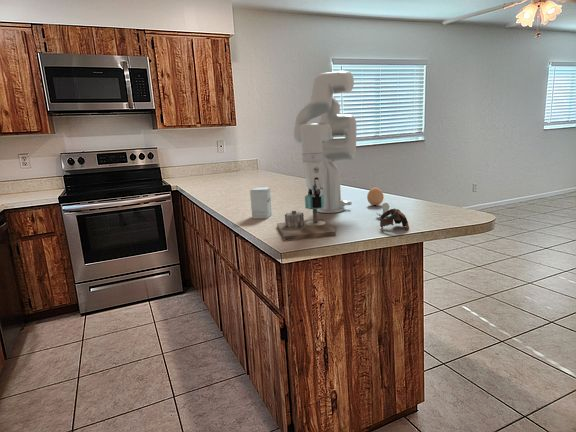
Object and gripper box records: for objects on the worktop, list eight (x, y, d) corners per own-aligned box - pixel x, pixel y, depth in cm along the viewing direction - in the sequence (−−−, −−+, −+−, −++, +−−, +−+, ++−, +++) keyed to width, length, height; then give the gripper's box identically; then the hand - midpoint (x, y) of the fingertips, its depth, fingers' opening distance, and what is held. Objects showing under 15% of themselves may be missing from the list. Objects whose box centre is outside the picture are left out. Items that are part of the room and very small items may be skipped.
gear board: (322, 222, 156) (321, 205, 155) (335, 235, 137) (335, 215, 135) (277, 226, 154) (276, 209, 152) (284, 240, 135) (283, 220, 133)
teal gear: (321, 205, 152) (320, 193, 151) (325, 208, 145) (325, 196, 144) (303, 206, 151) (303, 195, 150) (307, 210, 144) (306, 197, 143)
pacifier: (396, 220, 154) (393, 216, 160) (396, 204, 153) (393, 201, 158) (377, 221, 155) (375, 217, 160) (377, 205, 153) (375, 202, 159)
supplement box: (268, 218, 169) (266, 189, 167) (251, 218, 171) (249, 189, 168) (272, 214, 176) (270, 186, 174) (256, 214, 178) (254, 187, 175)
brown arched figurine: (410, 233, 136) (398, 214, 134) (385, 243, 141) (374, 225, 139) (412, 217, 146) (402, 199, 144) (390, 226, 151) (379, 209, 149)
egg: (386, 204, 183) (386, 186, 181) (378, 207, 178) (378, 189, 176) (372, 203, 188) (372, 185, 186) (364, 206, 182) (364, 188, 181)
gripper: (328, 158, 136) (330, 209, 140) (317, 156, 153) (319, 201, 157) (307, 160, 135) (309, 211, 139) (298, 157, 152) (300, 202, 156)
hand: (314, 205), depth 148 cm, fingers closed on teal gear, 6 cm apart
